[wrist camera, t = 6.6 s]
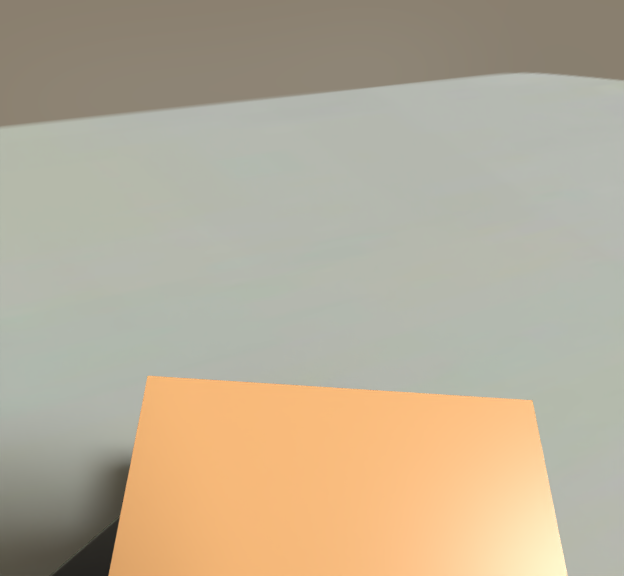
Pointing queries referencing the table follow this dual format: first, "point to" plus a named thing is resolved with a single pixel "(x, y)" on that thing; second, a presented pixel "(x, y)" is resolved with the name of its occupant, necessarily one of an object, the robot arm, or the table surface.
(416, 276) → the table surface
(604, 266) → the table surface
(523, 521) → the plug
